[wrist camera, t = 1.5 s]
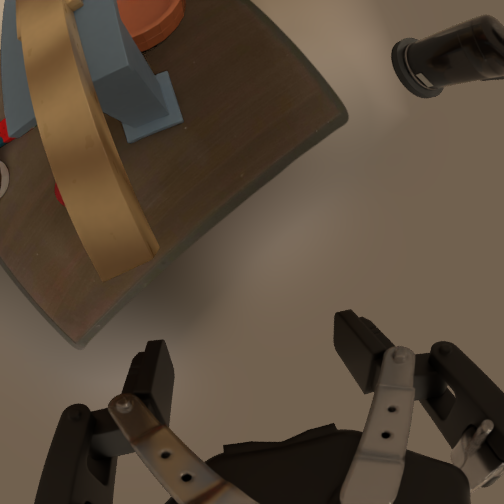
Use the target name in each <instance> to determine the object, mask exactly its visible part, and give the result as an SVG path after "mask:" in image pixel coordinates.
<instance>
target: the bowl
mask: <svg viewBox="0 0 504 504" xmlns="http://www.w3.org/2000/svg"><path fill="white" fill-rule="evenodd" d="M117 5H118V9H119V14H120V18H121V20H122V22H123V24H124V25H125V27H126V29H127V30H128V32H129V34H130V35H131V37H132V39H133V40H134V42H135V44H136V45H137V47H138V49H139V50H140V52H142V51H145V50H148V49H150V48H152V47H153V46H155V45H157V44H158V43H160V42H162V41H163V40H165V39H166V38H167V37H168V36H169V35H170V34H171V33H172V32H173V31H174V30H175V29H176V28H177V26H178V25H179V23H180V21H181V20H182V18H183V16H184V12H185V6H186V2H185V0H117Z"/></svg>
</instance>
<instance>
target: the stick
mask: <svg viewBox="0 0 504 504" xmlns="http://www.w3.org/2000/svg"><path fill="white" fill-rule="evenodd" d="M83 5H84V4H83V0H16V27H17V39H18V40H20V41H21V42H22V49H23V57H24V64H25V70H26V76H27V81H28V87H29V91H30V96H31V101H32V105H33V109H34V113H35V117H36V121H37V125H38V128H39V132H40V135H41V139H42V142H43V145H44V149H45V152H46V155H47V158H48V161H49V164H50V167H51V170H52V172H53V175H54V178H55V181H56V183H57V186H58V188H59V191H60V194H61V196H62V199H63V201H64V203H65V206H66V208H67V211H68V213H69V215H70V218H71V220H72V222H73V224H74V227H75V229H76V231H77V233H78V235H79V237H80V239H81V241H82V244H83V246H84V248H85V250H86V252H87V254H88V256H89V258H90V260H91V262H92V263H93V265H94V267H95V269H96V271H97V273H98V275H99V277H100V278H101V280H102V282H106V281H108V280H110V279H112V278H114V277H116V276H118V275H120V274H123V273H125V272H127V271H129V270H131V269H133V268H135V267H138V266H140V265H142V264H144V263H146V262H148V261H150V260H152V259H153V258H154V256H155V255H156V253H157V252H158V250H159V248H160V247H159V245H158V243H157V241H156V238H155V236H154V234H153V232H152V230H151V228H150V226H149V224H148V222H147V219H146V217H145V215H144V213H143V211H142V209H141V206H140V204H139V202H138V200H137V197H136V195H135V193H134V190H133V188H132V186H131V184H130V181H129V179H128V176H127V174H126V172H125V169H124V167H123V164H122V162H121V159H120V157H119V154H118V152H117V149H116V147H115V144H114V142H113V139H112V136H111V134H110V131H109V128H108V126H107V123H106V120H105V117H104V115H103V112H102V109H101V106H100V103H99V100H98V97H97V94H96V91H95V88H94V85H93V82H92V79H91V75H90V72H89V69H88V65H87V62H86V59H85V55H84V51H83V48H82V44H81V40H80V37H79V33H78V29H77V25H76V20H75V16H74V11H75V10H77V9H79V8H80V7H82V6H83Z"/></svg>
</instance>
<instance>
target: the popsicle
mask: <svg viewBox="0 0 504 504" xmlns="http://www.w3.org/2000/svg"><path fill="white" fill-rule="evenodd" d="M35 127H36V126H35ZM35 127H33V128H35ZM33 128H32V129H33ZM30 130H31V129H30ZM13 139H15V138H12V137H8V131H7V125H6V118H5V119H4V120H2V121H1V122H0V148H1V147H2V146H4V145H5V144H7V143H9V142H10V141H12V140H13Z"/></svg>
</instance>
